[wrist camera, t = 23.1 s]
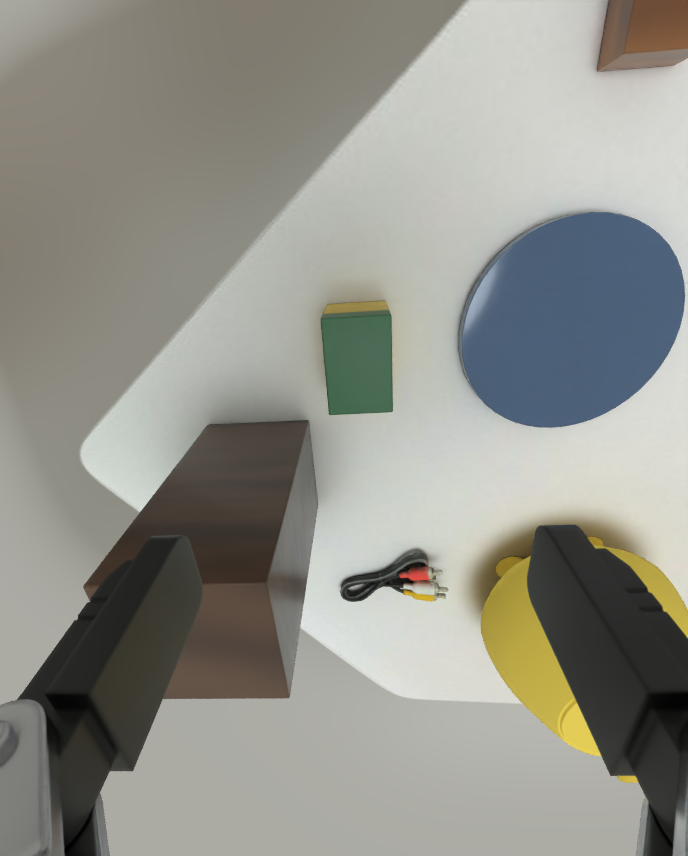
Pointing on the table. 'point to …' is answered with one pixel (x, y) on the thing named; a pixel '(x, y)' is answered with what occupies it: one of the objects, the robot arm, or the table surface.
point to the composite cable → (399, 581)
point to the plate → (571, 319)
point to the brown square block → (644, 34)
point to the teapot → (532, 653)
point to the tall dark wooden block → (236, 554)
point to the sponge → (358, 357)
